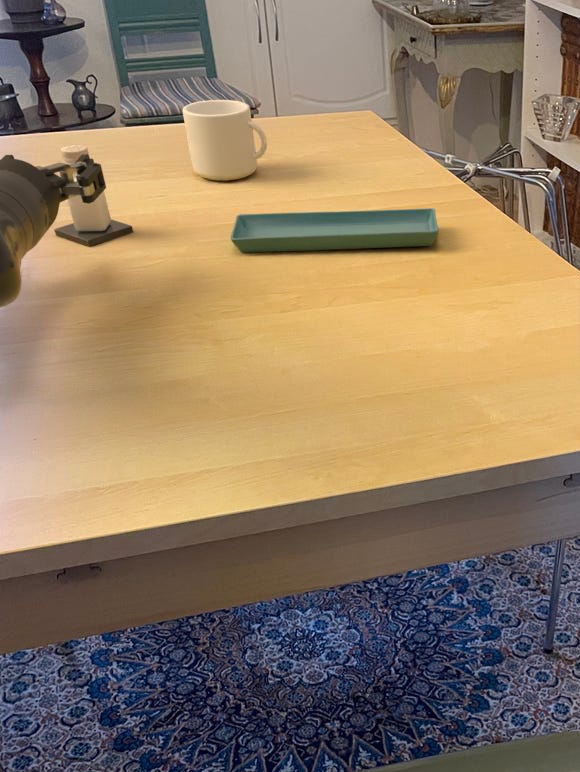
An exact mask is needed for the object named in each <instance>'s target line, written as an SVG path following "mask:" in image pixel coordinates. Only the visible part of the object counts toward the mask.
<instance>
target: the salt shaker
mask: <svg viewBox="0 0 580 772" xmlns="http://www.w3.org/2000/svg"><path fill="white" fill-rule="evenodd" d="M60 153H61V156H62V160H63V163H65V164H68V165H70V164H74V163H75V162H76V161H77V160H78V158H79V157H80V156H81V155H86V154H88V155H89V156H90V154H89V150H88V146H86V145H83V144H70V145H66V146H63V147H61V148H60ZM76 175H77V171H76V172H73V179H74V182H76V181H77V179H76ZM66 201H67V204H68V207H69V211H70V215H71V219H72V223H74V226H75V228H76V230H77V231H104V230H106V228H107V227H108V225H109V224H110V221H111V219H112V217H111V214H110V209H109V204H108V202H107V197H106V192H105V190H104V191H103V192H102V193H101V194H100V195H99V196H98V198H97V199H96V200H95V201H94V202H92V203H89V204H88V203H83V201H82V198H81V195H77V196H76V197H73V198H70V199H67V200H66Z"/></svg>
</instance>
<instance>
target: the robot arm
mask: <svg viewBox="0 0 580 772" xmlns="http://www.w3.org/2000/svg"><path fill="white" fill-rule="evenodd" d="M88 154H89V153H88ZM88 154H86V155H81V156H80V157H79V158H78V160H77V161H76V162H75V163H74V164H70V165H68V164H65V163H64V162H59V161H58V162H55V163H52V164H49V165H45V166H42V165H36V166H35V165H33V164H31V163H30V162H28V161H25V160H22V159H17V158H15V156H14V155H13V154H5V155H4V156H3V157H2V158H1V159H0V308H1V309H2V308H3V307H7V306H9V305H11V304H12V303H14V302H15V301H16V300H17V299H18V297H19V295H20V293H21V290H22V273H21V268H22V259H23V258H24V257H25V256H26V255H27V253H28V252H30V251H31V250H33V249H34V248H35V247H36V246H37V245H38V244H39V243H40V241H41V240H42V238H43V237H44V236H45V235H46V234H47V232H48V231H49V229H51V227H52V225H53V224H54V222H55V221H56V219H57V217H58V214H59V209H60V204H61V203H62V202H65V201H68V200H67V199H70V198H73V197H76V196H77V195H81V198H82V201H83V203H88V204H89V203H92V202H94V201H95V200H96V199H97V198H98V196H99V195H100V194H101V193H102V192H103V191H104V192H105V189H107V185H106V180H105V177H104V172H103V168H102V163H101V164H100V163H97V162H95V161H94V158H91V157H90V154H89V155H88ZM76 171H77V175H76V179H77V181H76V182H74V179H73V172H76ZM56 173H59V175H58V174H56Z"/></svg>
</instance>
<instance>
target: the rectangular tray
mask: <svg viewBox="0 0 580 772" xmlns="http://www.w3.org/2000/svg"><path fill="white" fill-rule="evenodd" d="M438 233H439V225H438V221H437V216H436V208H433V207H432V208H431V207H430V208H427V207H426V208H407V209H403V208H402V209H379V210H378V209H377V210H347V211H345V210H344V211H303V212H301V211H300V212H273V213H272V212H270V213H269V212H268V213H243V214H241V213H240V214H237V215H236V216H235V220H234V225H233V228H232V231H231V235H230V240H231V242H232V243H233V244H234V246H235V247H236V248H237V249H238V250H239V252H240V253H269V252H300V251H302V252H303V251H324V250H325V251H329V250H359V249H377V248H379V249H380V248H403V247H404V248H405V247H429V246H432V245H433V244H434V242H435V240H436V239H437V235H438Z"/></svg>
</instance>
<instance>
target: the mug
mask: <svg viewBox="0 0 580 772" xmlns="http://www.w3.org/2000/svg"><path fill="white" fill-rule="evenodd" d="M182 116H183V122H184V127H185V133H186V138H187V145H188V149H189V157H190V161H191V166H192V170H193V171H194V172H195V174H196V175H198V176H199V177H200V178H201V177H202V178H204V179H206V180H211V181H219V182H220V181H235V180H240V179H244V178H246V177H248V176H251V175H253V173H254V172H256V170H257V168H258V159H260V158H262V157H263V156H264V155H265V153H266V151H267V148H268V140H267V136H266V134H265V132H264V131H263V129H262V128H261V126H259V124H257V123H255V122H254V121H252V120H253V119H252V112H251V107H250V105H249V104H248V103H246V102H244V101H239V100H232V99H207V100H200V101H195V102H191V103H189V104H186V105H185V106H183V108H182ZM254 131H255V132H256V133H257V134H258V136H259V138H260V142H261V144H260V149H259V150H258V151H256V142H255V136H254Z"/></svg>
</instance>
